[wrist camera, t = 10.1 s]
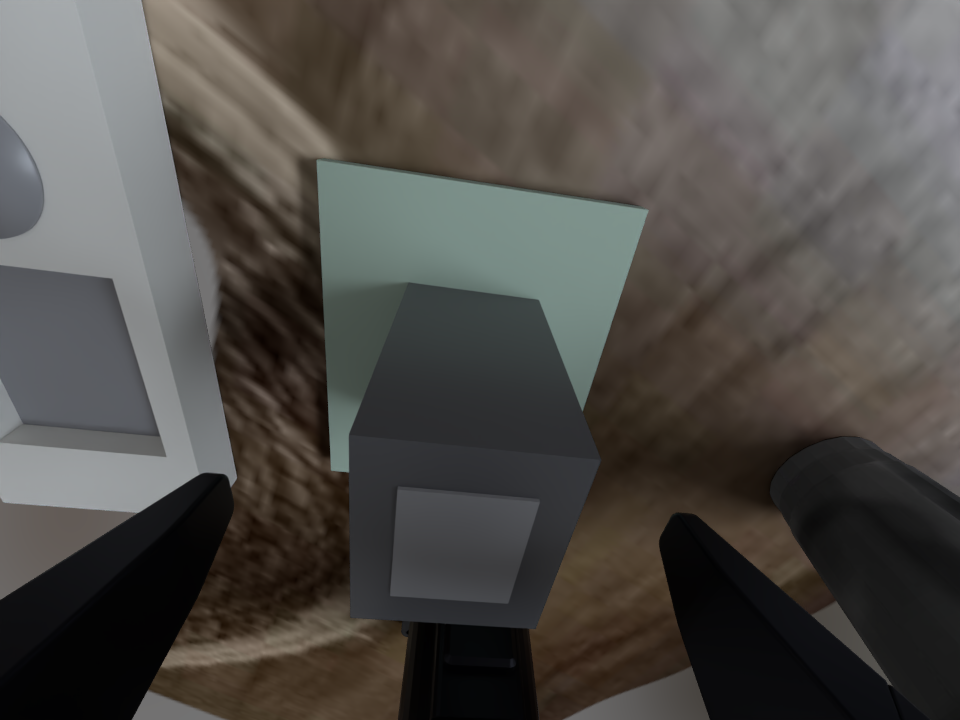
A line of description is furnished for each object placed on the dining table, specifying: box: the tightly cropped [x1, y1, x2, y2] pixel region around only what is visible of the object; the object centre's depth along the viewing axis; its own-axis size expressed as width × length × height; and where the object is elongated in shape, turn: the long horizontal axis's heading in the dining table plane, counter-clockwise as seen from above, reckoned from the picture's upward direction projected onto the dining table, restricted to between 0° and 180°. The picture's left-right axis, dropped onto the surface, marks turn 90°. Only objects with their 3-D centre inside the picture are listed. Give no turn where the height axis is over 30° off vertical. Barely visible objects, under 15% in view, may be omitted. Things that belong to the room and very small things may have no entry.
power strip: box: [0, 0, 237, 513], centre depth 11 cm, size 20×7×3 cm, turn 172°
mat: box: [317, 158, 648, 472], centre depth 14 cm, size 11×9×1 cm
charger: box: [349, 282, 601, 629], centre depth 11 cm, size 5×4×7 cm
